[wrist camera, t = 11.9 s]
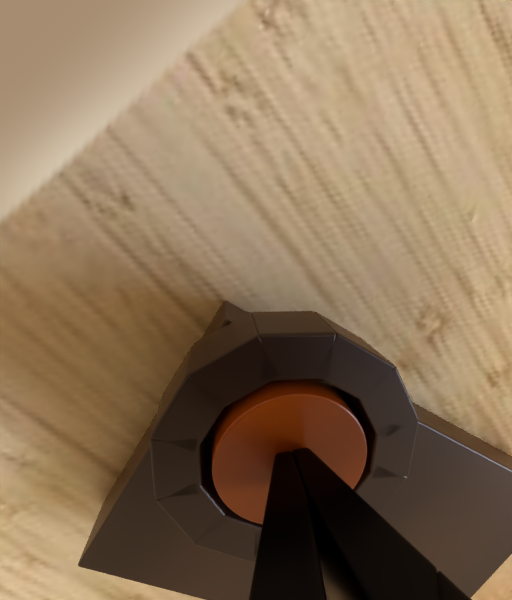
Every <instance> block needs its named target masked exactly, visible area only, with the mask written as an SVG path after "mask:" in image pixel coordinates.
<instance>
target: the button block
mask: <svg viewBox="0 0 512 600" xmlns="http://www.w3.org/2000/svg"><path fill="white" fill-rule="evenodd" d="M301 379H321V380H323V381H325V382H327V383H329V384H331V385H333V386H334V387H335V388H336V390H337V391H338V392H339V394H340V395H341V397H342V398H343V399H344V401H345V402H346V404H347V405H348V406H349V408H350V409H351V411H352V412H353V414H354V415H355V416H356V418H357V419H358V421H359V423H360V424H361V426H362V428H363V431H364V433H365V438H366V443H367V458H366V463H365V467H364V470H363V473H362V475H361V477H360V479H359V481H358V483H357V484H356V486H355V487H354V489H353V490H354V491H355V492H356V493H358V494H359V495H360V496H361V497H362V498H363V499H364V500H365V501H366V502H367V503H368V504H369V505H370V506H371V507H373V508H374V509H375V510H376V511H377V512H378V513H379V514H380V515H381V516H382V517H383V518H384V519H385V520H386V521H388V522H389V523H390V524H391V525H392V526H393V527H394V528H395V529H396V530H397V531H398V532H399V533H400V534H401V535H403V536H404V537H405V538H406V539H407V540H408V541H409V542H410V543H411V544H412V545H413V546H414V547H415V548H416V549H418V550H419V551H420V552H421V553H422V554H423V555H424V556H425V557H426V558H427V559H428V560H429V561H430V562H431V563H433V564H434V565H435V566H436V568H437V572H438V571H441V572H442V573H443V574H445V575H446V576H447V577H448V578H449V579H450V580H451V581H452V582H453V583H454V584H455V585H456V586H457V587H458V588H459V589H460V590H462V591H463V592H464V593H465V594H466V595H467V596H468V597H469V598H471V597H472V596H473V595H474V594H475V593H476V592H477V590H478V589H479V588H480V587H481V586H482V585H483V584H484V583H485V582H486V581H487V580H488V579H489V578H490V576H491V575H492V574H493V573H494V572H495V571H496V570H497V569H498V568H499V567H500V566H501V565H502V564H503V562H504V561H505V560H506V559H507V558H508V557H509V556H510V555H511V554H512V456H510V455H508V454H506V453H504V452H502V451H501V450H499V449H497V448H495V447H493V446H491V445H490V444H488V443H486V442H484V441H482V440H480V439H479V438H477V437H475V436H473V435H471V434H469V433H468V432H466V431H464V430H462V429H460V428H459V427H457V426H455V425H453V424H451V423H449V422H448V421H446V420H444V419H442V418H440V417H438V416H437V415H435V414H433V413H431V412H429V411H427V410H426V409H424V408H422V407H420V406H418V405H416V404H415V403H413V402H411V400H410V397H409V395H408V393H407V391H406V388H405V386H404V384H403V382H402V379H401V377H400V375H399V373H398V370H397V368H396V367H395V366H394V365H393V364H392V363H391V362H390V361H389V360H387V359H386V358H385V357H384V356H382V355H381V354H380V353H379V352H377V351H376V350H375V349H374V348H372V347H371V346H370V345H369V344H367V343H366V342H365V341H364V340H363V339H361V338H360V337H358V336H356V335H354V334H353V333H351V332H349V331H348V330H346V329H344V328H342V327H341V326H339V325H337V324H336V323H334V322H332V321H331V320H329V319H327V318H325V317H324V316H322V315H320V314H319V313H317V312H312V311H290V312H252V313H250V312H249V313H248V312H246V311H244V310H242V309H241V308H239V307H237V306H235V305H233V304H231V303H230V302H228V301H224V302H223V303H222V305H221V306H220V308H219V310H218V311H217V313H216V315H215V317H214V318H213V320H212V322H211V323H210V325H209V327H208V328H207V330H206V332H205V333H204V335H203V337H202V338H201V340H199V341H197V342H195V343H194V345H193V346H192V347H191V348H190V350H189V352H188V353H187V355H186V357H185V359H184V360H183V362H182V364H181V365H180V367H179V369H178V370H177V372H176V374H175V375H174V377H173V379H172V381H171V382H170V384H169V386H168V387H167V389H166V391H165V392H164V394H163V397H162V400H161V403H160V407H159V410H158V413H157V414H156V416H155V418H154V419H153V421H152V423H151V424H150V426H149V428H148V429H147V431H146V433H145V434H144V436H143V438H142V439H141V441H140V443H139V444H138V446H137V448H136V450H135V451H134V453H133V455H132V456H131V458H130V460H129V461H128V463H127V465H126V466H125V468H124V470H123V471H122V473H121V475H120V476H119V478H118V480H117V482H116V483H115V485H114V487H113V488H112V490H111V492H110V493H109V495H108V497H107V498H106V500H105V502H104V503H103V505H102V507H101V510H100V512H99V514H98V517H97V519H96V522H95V524H94V527H93V529H92V531H91V534H90V536H89V539H88V541H87V544H86V546H85V548H84V551H83V553H82V556H81V558H80V561H79V564H78V566H79V567H83V568H87V569H91V570H95V571H98V572H102V573H106V574H110V575H114V576H118V577H121V578H125V579H129V580H133V581H137V582H141V583H144V584H148V585H152V586H156V587H160V588H164V589H167V590H171V591H175V592H179V593H183V594H187V595H190V596H194V597H198V598H202V599H206V600H249V595H250V590H251V584H252V579H253V573H254V568H255V562H256V557H257V551H258V546H259V540H260V535H261V529H262V524H259V523H255V522H251V521H249V520H247V519H244V518H242V517H241V516H239V515H237V514H236V513H234V512H233V511H232V510H231V509H229V508H228V507H227V505H226V504H225V503H224V502H223V501H222V499H221V498H220V496H219V495H218V492H217V490H216V488H215V486H214V482H213V478H212V440H213V424H214V423H215V421H216V420H217V418H218V417H219V415H220V413H221V412H222V410H223V409H224V407H226V406H227V405H229V404H231V403H233V402H235V401H236V400H238V399H240V398H242V397H244V396H245V395H247V394H249V393H251V392H253V391H254V390H256V389H258V388H260V387H262V386H263V385H265V384H267V383H269V382H271V381H279V380H301ZM324 586H325V585H324ZM325 591H326V596H327V600H330V599H329V596H328V593H327V590H326V587H325Z"/></svg>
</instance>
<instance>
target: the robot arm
mask: <svg viewBox="0 0 512 600" xmlns="http://www.w3.org/2000/svg"><path fill="white" fill-rule="evenodd" d="M324 585H325V586H324ZM325 587H326V590H327V593H328V596H329V599H330V600H472V599H470V598H469V597H468V596H467V595H466V594H465V593H464V592H463V591H462V590H460V589H459V588H458V587H457V586H456V585H455V584H454V583H453V582H452V581H451V580H450V579H449V578H448V577H447V576H446V575H445V574H443V573H442V572H441V571H438V572H437V568H436V566H435V565H434V564H433V563H431V562H430V561H429V560H428V559H427V558H426V557H425V556H424V555H423V554H422V553H421V552H420V551H419V550H418V549H416V548H415V547H414V546H413V545H412V544H411V543H410V542H409V541H408V540H407V539H406V538H405V537H404V536H403V535H401V534H400V533H399V532H398V531H397V530H396V529H395V528H394V527H393V526H392V525H391V524H390V523H389V522H388V521H386V520H385V519H384V518H383V517H382V516H381V515H380V514H379V513H378V512H377V511H376V510H375V509H374V508H373V507H371V506H370V505H369V504H368V503H367V502H366V501H365V500H364V499H363V498H362V497H361V496H360V495H359V494H358V493H356V492H355V491H354V490H353V489H352V488H351V487H350V486H349V485H348V484H347V483H346V482H345V481H344V480H343V479H341V478H340V477H339V476H338V475H337V474H336V473H335V472H334V471H333V470H332V469H331V468H330V467H329V466H328V465H326V464H325V463H324V462H323V461H322V460H321V459H320V458H319V457H318V456H317V455H316V454H315V453H314V452H313V451H311V450H310V449H309V448H307V447H304V448H300V449H295V450H293V451H292V452H291V451H285V452H281V453H277V454H276V455H275V458H274V464H273V469H272V475H271V480H270V485H269V491H268V496H267V502H266V507H265V513H264V518H263V524H262V529H261V535H260V540H259V546H258V551H257V557H256V562H255V568H254V573H253V579H252V584H251V590H250V595H249V600H327V596H326V591H325Z"/></svg>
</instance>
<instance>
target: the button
mask: <svg viewBox="0 0 512 600" xmlns="http://www.w3.org/2000/svg"><path fill="white" fill-rule="evenodd" d="M304 447H307V448H309V449H310V450H311V451H313V452H314V453H315V454H316V455H317V456H318V457H319V458H320V459H321V460H322V461H323V462H324V463H325V464H326V465H328V466H329V467H330V468H331V469H332V470H333V471H334V472H335V473H336V474H337V475H338V476H339V477H340V478H341V479H343V480H344V481H345V482H346V483H347V484H348V485H349V486H350V487H351V488H352V489H354V487H355V486H356V484H357V483H358V481H359V479H360V477H361V475H362V473H363V470H364V467H365V463H366V458H367V443H366V438H365V433H364V431H363V428H362V426H361V424H360V423H359V421H358V419H357V418H356V416H355V415H354V414H353V412H352V411H351V409H350V408H349V406H348V405H347V404H346V402H345V401H344V399H343V398H342V397H341V395H340V394H339V392H338V391H337V390H336V388H335V387H334V386H333V385H331V384H329V383H327V382H325V381H323V380H321V379H301V380H279V381H271V382H269V383H267V384H265V385H263V386H262V387H260V388H258V389H256V390H254V391H253V392H251V393H249V394H247V395H245V396H244V397H242V398H240V399H238V400H236V401H235V402H233V403H231V404H229V405H227V406H226V407H224V409H223V410H222V412H221V413H220V415H219V417H218V418H217V420H216V421H215V423H214V424H213V440H212V478H213V482H214V486H215V488H216V490H217V492H218V495H219V496H220V498H221V499H222V501H223V502H224V503H225V504H226V505H227V507H228V508H229V509H231V510H232V511H233V512H234V513H236V514H237V515H239V516H241V517H242V518H244V519H247V520H249V521H251V522H255V523H259V524H263V518H264V513H265V507H266V502H267V496H268V491H269V485H270V480H271V475H272V469H273V464H274V458H275V455H276V454H277V453H281V452H285V451H291V452H292V451H293V450H295V449H300V448H304Z"/></svg>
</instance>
